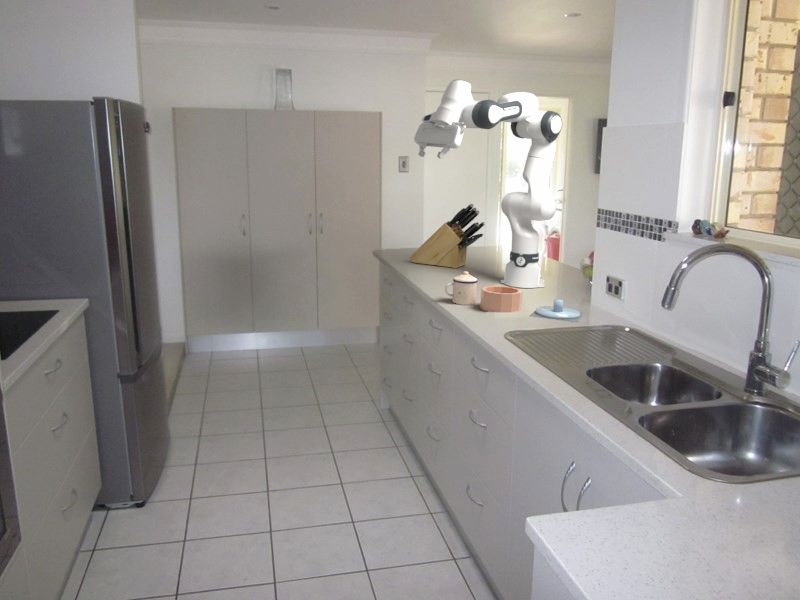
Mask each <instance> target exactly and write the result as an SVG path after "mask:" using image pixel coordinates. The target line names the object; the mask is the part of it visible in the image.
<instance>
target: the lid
mask: <svg viewBox="0 0 800 600" xmlns="http://www.w3.org/2000/svg"><path fill="white" fill-rule="evenodd" d="M535 310H536V314H538V315H540V316H543V317H547V318H546V319H548V318H552V319H551V320H556V319H576V318H579V317H580V312H581V311H579V310H576V309H573V308H570V307H564V299H561V298H554V299H553V305H546V306H539V307H536V308H535Z"/></svg>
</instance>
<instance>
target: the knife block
mask: <svg viewBox="0 0 800 600" xmlns="http://www.w3.org/2000/svg"><path fill="white" fill-rule="evenodd" d="M478 215H480V210H477V208H476V207H474V204H473V203H469V204H468V206H467V207H464V208H461V210H460V209H459V211H458V212H457V213H456V214H455V215H454V216H453V218H452V219H451V220H450V221H447V222H444V223H443V224H442V225H441V226H440V227H439V228H438V229H437V230H436V231H435V232H433V234H431V236H430V237H429V238H427V240H425V241H424V243H422V244H421V245H420V246H419V247H418V248H417V249H416V251H414V252H413V253H412V254H411V255H410V256H409V258H410V260H411V261H412V262H413V263H415V264H421V265H422V264H423V265H432V266H439V267H447V268H448V267H449V268H453V269H457V268H460V267H464V266H465V265H467V264H466V263H467V261H466V260H467V250H468V247H469V246H471V245H472V244H474V243H475V242H476V241H478V240H479V239H481V238H482V237H483V236H484V233H478V234H476V233H477V232H479V230H481V229H482V228H483V227H484V226H485V225H486V223H485V222H484V221H482V222H480V224H479V222H474V223H472V224H471V225H470V226H468V225H469V224H470V223H471V222H472V221H474V220H475V218H477V217H478ZM467 226H468V227H467ZM465 227H467V228H466V229H465V230H463V229H464V228H465ZM463 265H464V266H463Z"/></svg>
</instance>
